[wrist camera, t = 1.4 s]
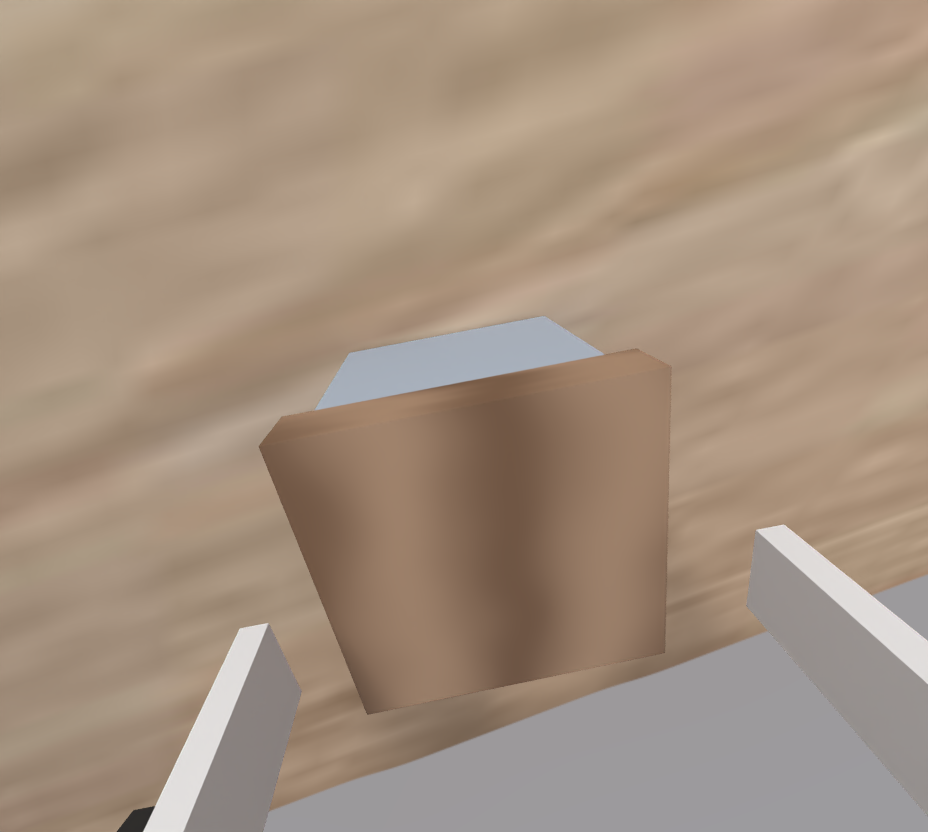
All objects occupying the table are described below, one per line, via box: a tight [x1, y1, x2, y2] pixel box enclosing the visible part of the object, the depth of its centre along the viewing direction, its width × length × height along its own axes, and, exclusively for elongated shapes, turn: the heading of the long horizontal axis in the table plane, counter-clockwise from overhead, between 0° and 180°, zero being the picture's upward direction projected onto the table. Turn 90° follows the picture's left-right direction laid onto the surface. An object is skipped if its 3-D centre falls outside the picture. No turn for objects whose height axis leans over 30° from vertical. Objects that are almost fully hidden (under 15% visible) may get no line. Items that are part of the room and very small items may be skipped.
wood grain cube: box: [259, 349, 672, 715], centre depth 15 cm, size 11×11×3 cm
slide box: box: [315, 316, 605, 410], centre depth 18 cm, size 9×11×7 cm
